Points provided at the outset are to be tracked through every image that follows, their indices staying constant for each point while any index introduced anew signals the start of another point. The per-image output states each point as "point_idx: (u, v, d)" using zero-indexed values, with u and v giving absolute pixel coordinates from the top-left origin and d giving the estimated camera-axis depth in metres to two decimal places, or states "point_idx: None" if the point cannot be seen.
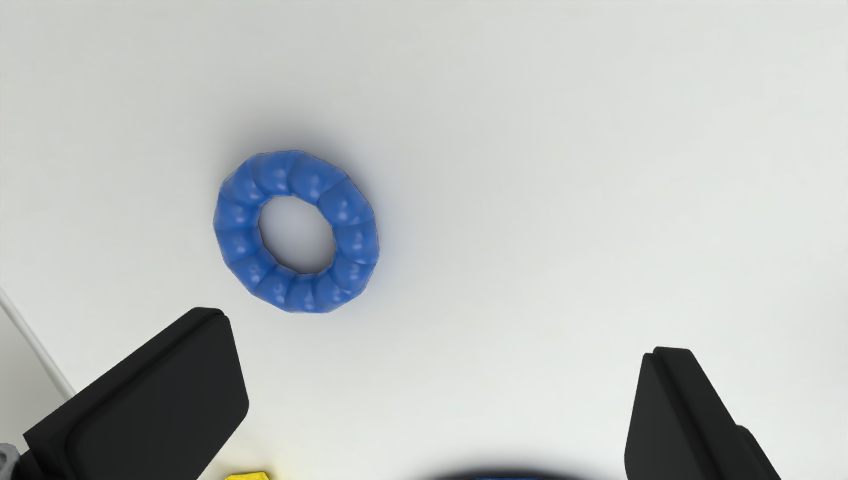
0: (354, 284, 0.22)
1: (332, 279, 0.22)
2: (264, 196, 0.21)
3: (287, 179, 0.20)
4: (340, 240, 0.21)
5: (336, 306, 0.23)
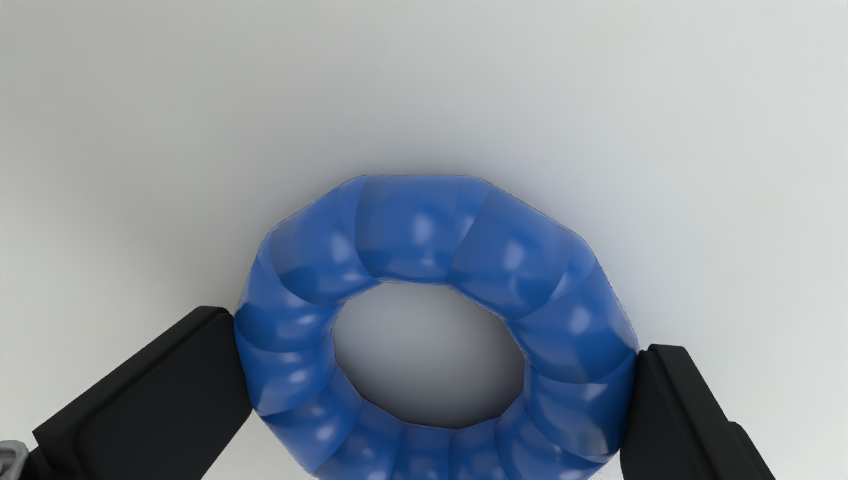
0: (611, 434, 0.08)
1: (551, 439, 0.09)
2: (325, 310, 0.09)
3: (358, 251, 0.08)
4: (543, 345, 0.08)
5: None
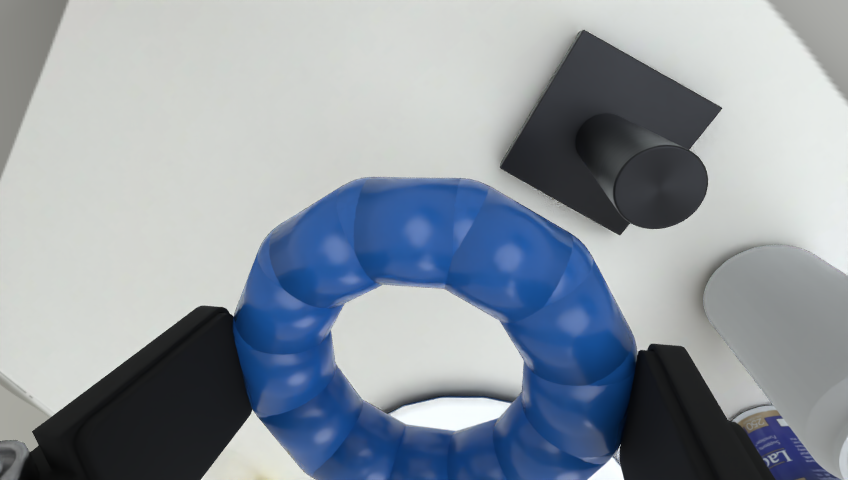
0: (610, 435, 0.08)
1: (549, 441, 0.09)
2: (324, 312, 0.09)
3: (357, 253, 0.08)
4: (541, 347, 0.08)
5: None
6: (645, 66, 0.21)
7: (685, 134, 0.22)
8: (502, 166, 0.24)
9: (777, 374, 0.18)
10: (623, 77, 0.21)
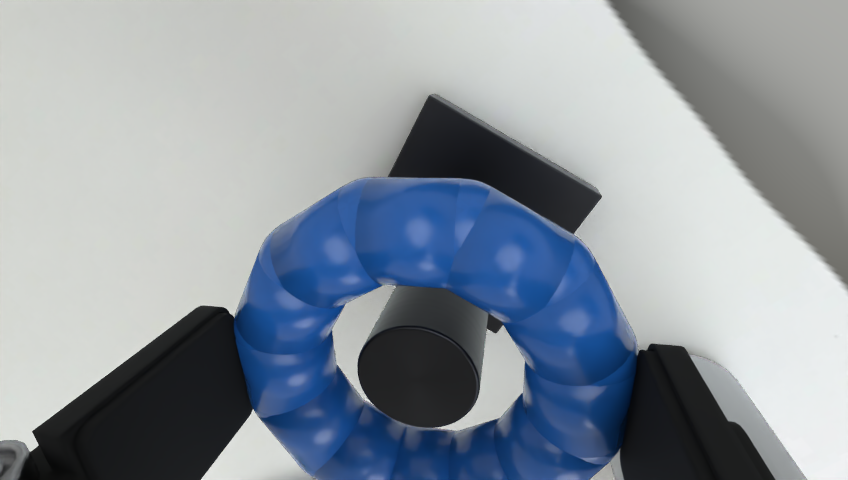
0: (611, 436, 0.08)
1: (551, 441, 0.09)
2: (325, 313, 0.09)
3: (359, 253, 0.08)
4: (543, 347, 0.08)
5: None
6: (507, 142, 0.17)
7: (561, 224, 0.18)
8: None
9: None
10: (482, 154, 0.17)
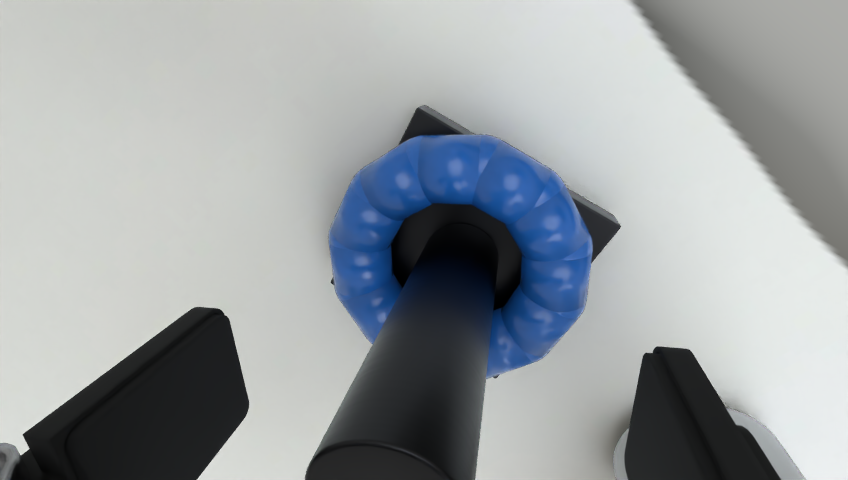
0: (575, 297, 0.13)
1: (538, 303, 0.14)
2: (393, 223, 0.14)
3: (419, 179, 0.13)
4: (532, 236, 0.13)
5: (554, 343, 0.14)
6: None
7: None
8: (333, 281, 0.17)
9: None
10: None
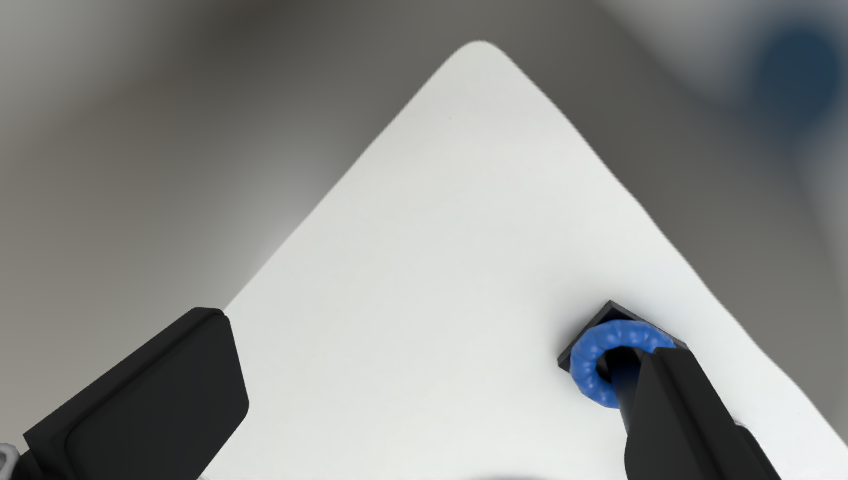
0: None
1: None
2: (604, 351, 0.37)
3: (620, 340, 0.36)
4: None
5: None
6: None
7: None
8: (559, 366, 0.40)
9: None
10: None
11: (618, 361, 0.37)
